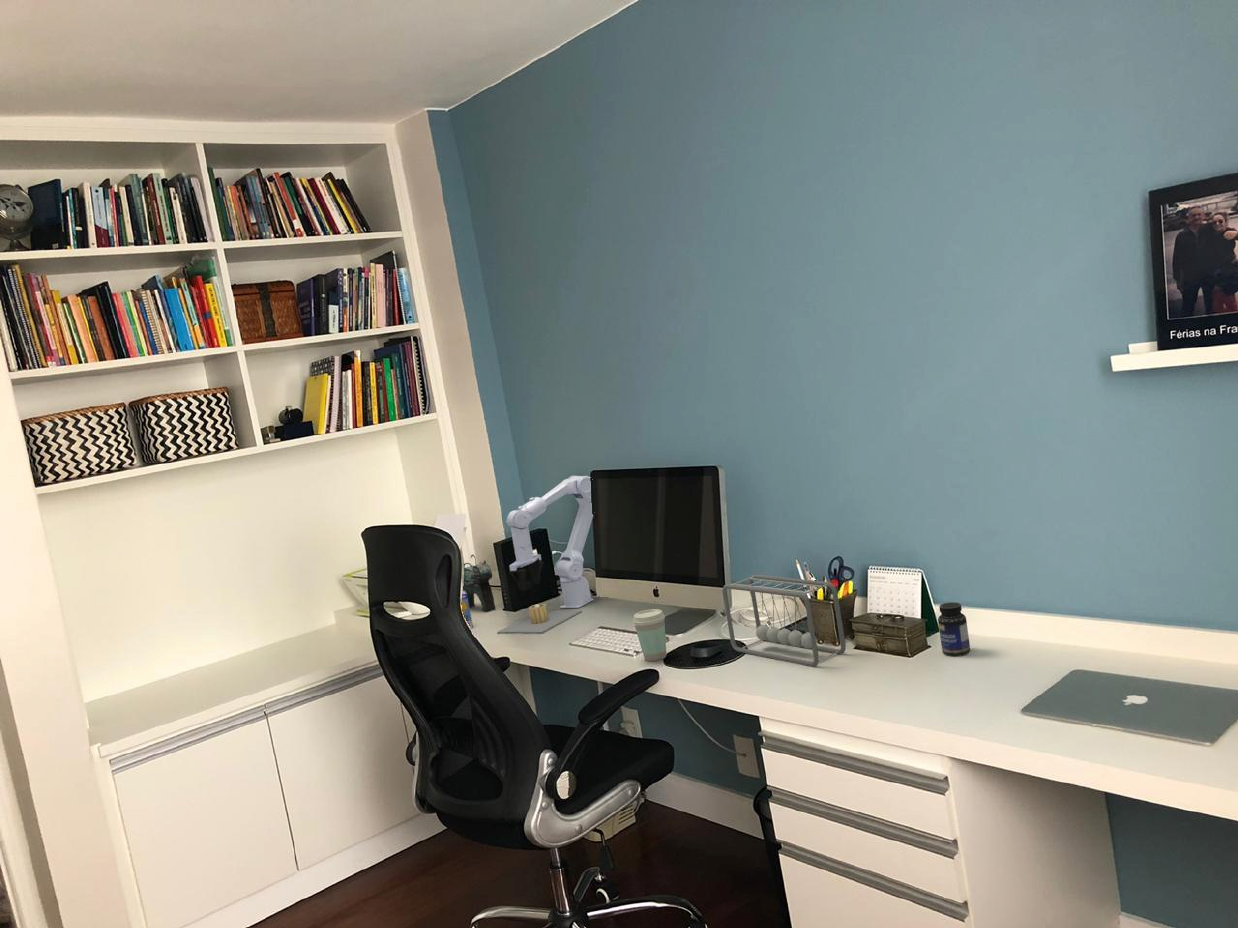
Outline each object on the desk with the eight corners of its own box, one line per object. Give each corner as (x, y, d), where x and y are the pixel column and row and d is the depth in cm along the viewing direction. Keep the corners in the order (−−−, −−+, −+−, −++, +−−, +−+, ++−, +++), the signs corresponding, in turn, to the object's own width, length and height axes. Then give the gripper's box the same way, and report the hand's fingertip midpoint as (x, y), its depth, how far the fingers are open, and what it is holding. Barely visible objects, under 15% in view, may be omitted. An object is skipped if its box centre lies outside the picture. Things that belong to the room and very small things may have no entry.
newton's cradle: (848, 654, 236) (836, 582, 235) (817, 668, 231) (806, 594, 229) (760, 638, 261) (749, 573, 259) (731, 651, 255) (720, 584, 253)
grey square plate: (538, 612, 334) (534, 595, 333) (581, 611, 324) (578, 594, 323) (497, 633, 315) (493, 615, 315) (542, 633, 306) (538, 614, 305)
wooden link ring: (538, 618, 323) (535, 603, 323) (552, 618, 320) (549, 603, 320) (528, 623, 319) (525, 608, 318) (541, 623, 316) (538, 608, 315)
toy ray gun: (500, 609, 349) (490, 553, 347) (484, 614, 346) (473, 558, 344) (474, 603, 365) (463, 551, 363) (458, 608, 362) (448, 555, 360)
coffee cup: (676, 651, 263) (668, 607, 262) (664, 662, 255) (656, 617, 254) (647, 652, 266) (639, 609, 265) (634, 663, 259) (626, 618, 258)
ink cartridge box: (444, 635, 325) (436, 592, 324) (442, 631, 331) (434, 589, 329) (474, 628, 328) (466, 585, 327) (471, 624, 333) (463, 582, 332)
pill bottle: (937, 654, 225) (930, 607, 224) (951, 646, 229) (945, 600, 228) (961, 658, 220) (954, 610, 219) (976, 649, 224) (969, 602, 223)
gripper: (518, 551, 317) (526, 592, 318) (545, 540, 329) (552, 580, 331) (501, 552, 321) (509, 592, 322) (528, 541, 333) (535, 581, 334)
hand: (529, 586), depth 327 cm, fingers open, 7 cm apart
